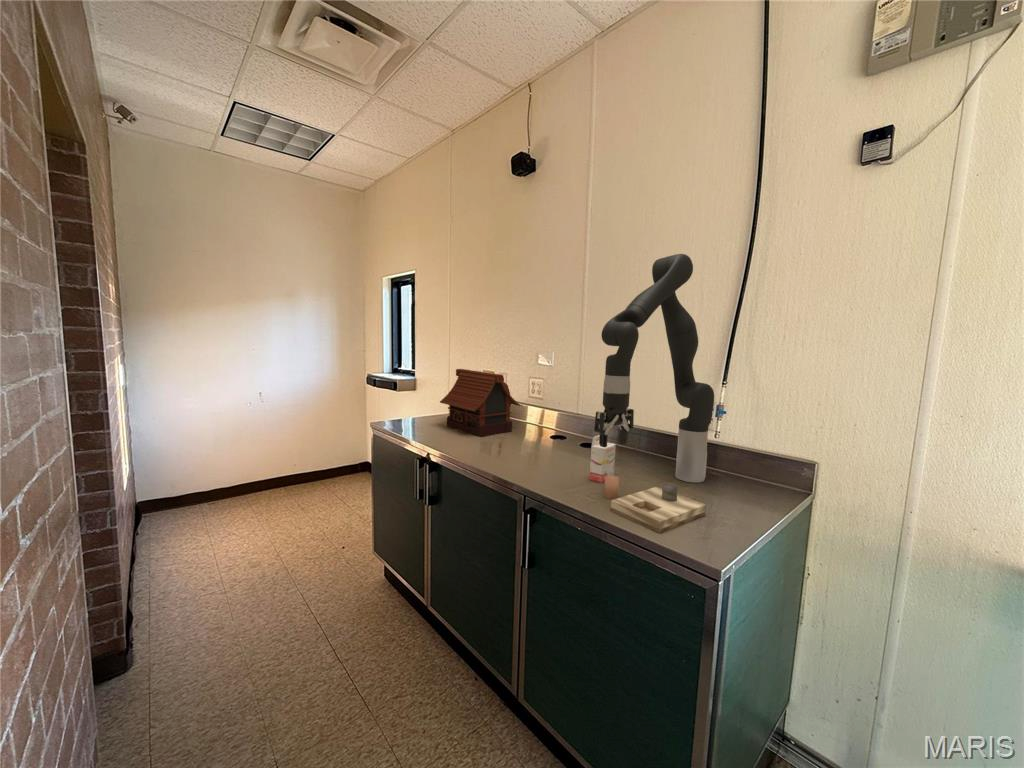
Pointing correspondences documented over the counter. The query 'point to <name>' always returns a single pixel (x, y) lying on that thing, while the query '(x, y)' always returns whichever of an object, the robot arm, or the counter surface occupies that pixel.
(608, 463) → the ink cartridge box
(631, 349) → the robot arm
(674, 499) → the pin board
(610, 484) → the terracotta pin
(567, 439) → the counter surface
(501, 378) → the house
